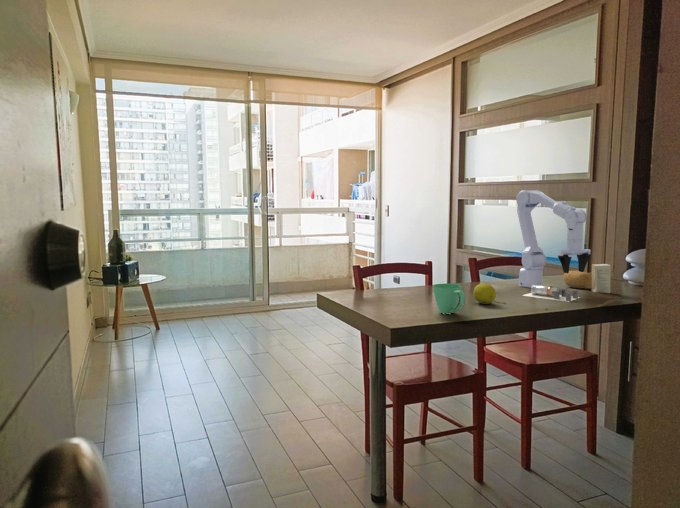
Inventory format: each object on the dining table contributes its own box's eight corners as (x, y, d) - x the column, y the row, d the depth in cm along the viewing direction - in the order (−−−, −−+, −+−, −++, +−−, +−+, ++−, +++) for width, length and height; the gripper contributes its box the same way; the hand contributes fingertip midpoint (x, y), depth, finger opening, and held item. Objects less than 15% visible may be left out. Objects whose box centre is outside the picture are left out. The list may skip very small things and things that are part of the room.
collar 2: (565, 300, 194) (565, 292, 194) (574, 297, 200) (574, 290, 200) (569, 301, 193) (569, 293, 193) (578, 297, 199) (578, 290, 199)
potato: (574, 285, 232) (574, 268, 231) (597, 290, 218) (597, 272, 217) (556, 286, 229) (556, 269, 228) (578, 291, 216) (578, 273, 215)
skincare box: (606, 292, 213) (607, 263, 212) (610, 294, 209) (611, 265, 208) (590, 292, 214) (591, 263, 213) (594, 294, 210) (595, 265, 208)
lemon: (499, 306, 191) (500, 285, 190) (480, 306, 190) (480, 286, 189) (488, 300, 202) (488, 280, 201) (469, 301, 201) (469, 281, 200)
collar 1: (554, 299, 198) (554, 291, 197) (563, 296, 203) (563, 288, 203) (557, 299, 197) (557, 291, 196) (566, 296, 202) (566, 289, 202)
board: (521, 297, 206) (521, 295, 206) (534, 293, 214) (534, 291, 214) (568, 303, 192) (568, 301, 192) (580, 299, 200) (580, 297, 200)
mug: (427, 311, 184) (427, 284, 183) (450, 308, 188) (450, 282, 187) (451, 320, 170) (451, 291, 169) (475, 317, 174) (475, 288, 173)
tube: (530, 294, 207) (530, 284, 207) (535, 293, 210) (535, 283, 209) (554, 297, 200) (554, 287, 199) (558, 296, 202) (559, 286, 202)
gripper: (567, 241, 199) (566, 274, 201) (596, 239, 203) (595, 272, 205) (554, 239, 206) (553, 272, 207) (583, 238, 210) (582, 270, 212)
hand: (573, 272), depth 207 cm, fingers open, 7 cm apart
